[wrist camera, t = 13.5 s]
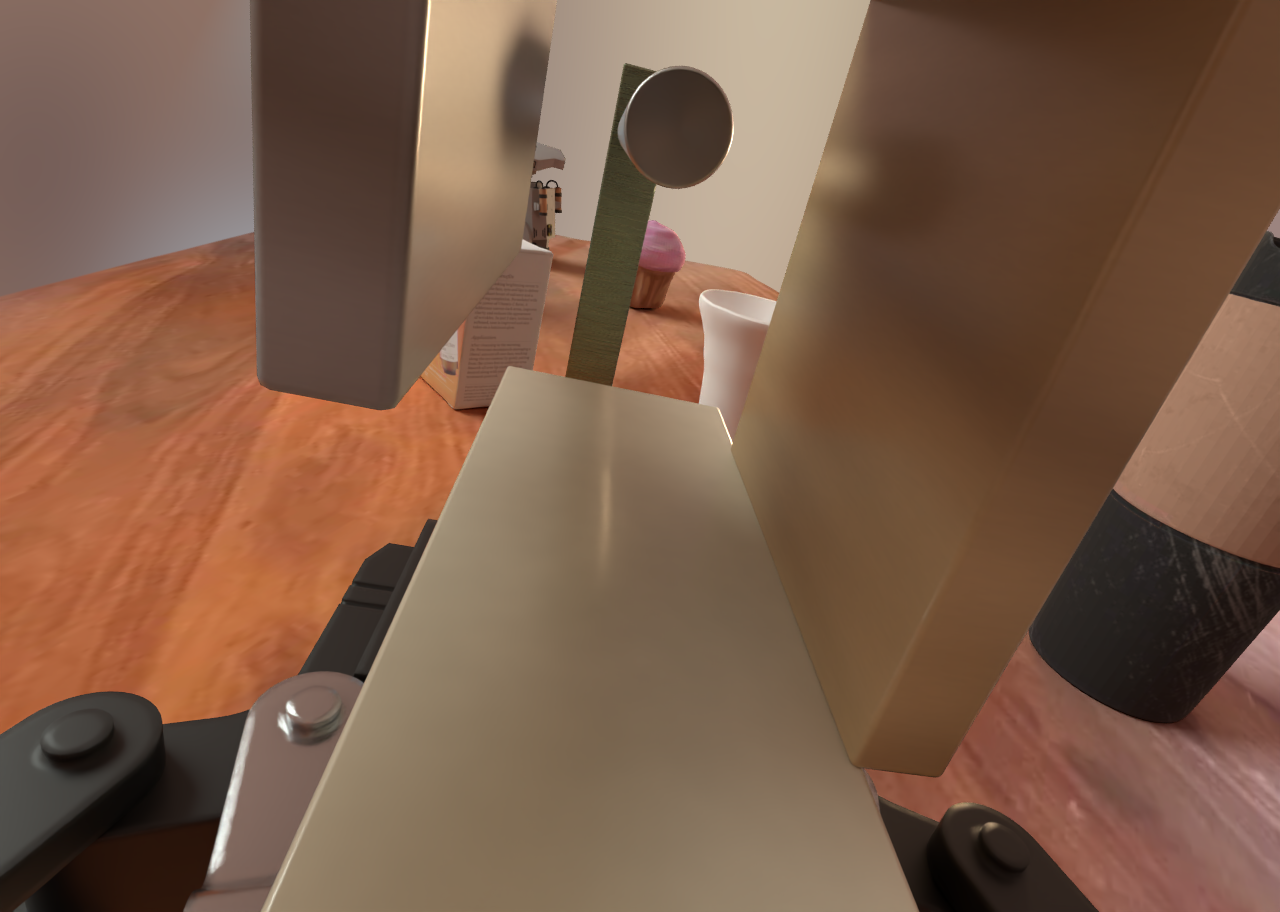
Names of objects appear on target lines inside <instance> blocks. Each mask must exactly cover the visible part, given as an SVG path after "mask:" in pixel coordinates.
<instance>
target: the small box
mask: <svg viewBox="0 0 1280 912" xmlns="http://www.w3.org/2000/svg"><path fill="white" fill-rule="evenodd" d="M552 259H553V253H552V252H551V251H549V250H547V249H544V248H540V247H538V246H536V245H534V244H531V243H529V242H527V241H525V240H523V239H522V246H521V250H520V252H519V253H518V255H517V256H516V257H515V258H514V260H513V261H512V262H511V263H510V265H509V266H508V267H507V268H506V270H505V271H504V272H503V273H502V275H501V276H500V277H499V278H498V280H497V281H496V282H495V283H494V285H493V286H492V287H491V288H490V290H489V291H488V292H487V293H486V295H485V296H484V297H483V298H482V300H481V301H480V302H479V303H478V305H477V306H476V307H475V308H474V310H473V311H472V312H471V313H470V315H469V316H468V317H467V318H466V320H465V321H464V322H463V323H462V324H461V326H460V327H459V328H458V329H457V331H456V332H455V333H454V334H453V336H452V337H451V338H450V339H449V341H448V342H447V343H446V344H445V346H444V347H443V348H442V349H441V351H440V352H439V353H438V354H437V356H436V357H435V358H434V359H433V361H432V362H431V363H430V364H429V366H428V367H427V368H426V369H425V371H424V372H423V373H422V374H421V377H422V378H423V379H424V380H425V381H426V382H427V383H428V384H429V385H430V386H431V387H432V388H433V389H434V390H435V391H437V392H438V393H439V394H440V395H441V396H442V397H443V398H444V399H445V400H446V401H447V402H448V404H449V405H450V406H451V407H452V408H453V409H466V408H476V407H488V406H490V404H491V402H492V400H493V398H494V395H495V393H496V391H497V389H498V387H499V384H500V382H501V380H502V378H503V376H504V373H505V371H506V369H507V367H509V366H512V367H517V368H522V369H527V370H532V371H533V366H534V360H535V354H536V349H537V344H538V338H539V332H540V327H541V321H542V315H543V310H544V304H545V298H546V293H547V287H548V281H549V276H550V270H551V264H552Z"/></svg>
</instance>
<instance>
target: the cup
mask: <svg viewBox="0 0 1280 912" xmlns="http://www.w3.org/2000/svg"><path fill="white" fill-rule="evenodd" d="M776 302H777V301H773V300H770V299H766V298H762V297H758V296H754V295H749V294H745V293H739V292H733V291H726V290H706V291H703V293H702V294H701V295H700V298H699V307H700V312H701V317H702V323H703V329H704V335H705V338H704V375H703V381H702V388H701V394H700V400H699V404H702V405H707V406H712V407H717V408H718V409H719V410H720V413H721V415H722V418H723V420H724V423H725V425H726V428H727V430H728V433H729V435H730V438H731V440H732V443H733V440H734V437H735V434H736V430H737V427H738V424H739V421H740V418H741V414H742V411H743V408H744V405H745V402H746V398H747V395H748V392H749V389H750V386H751V382H752V379H753V376H754V373H755V370H756V366H757V363H758V360H759V357H760V353H761V350H762V347H763V344H764V341H765V337H766V334H767V331H768V328H769V325H770V321H771V318H772V315H773V312H774V309H775V305H776Z"/></svg>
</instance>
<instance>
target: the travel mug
mask: <svg viewBox="0 0 1280 912" xmlns="http://www.w3.org/2000/svg"><path fill="white" fill-rule="evenodd" d="M1279 610H1280V238H1276V237H1274V236H1273V233H1272V232H1269V231H1266V232H1265V234H1264V236H1263V237H1262V239H1261V241H1260V243H1259V244H1258V246H1257V248H1256V249H1255V251H1254V253H1253V254H1252V256H1251V258H1250V259H1249V261H1248V263H1247V264H1246V266H1245V268H1244V269H1243V271H1242V273H1241V274H1240V276H1239V278H1238V279H1237V281H1236V283H1235V284H1234V286H1233V288H1232V289H1231V291H1230V293H1229V294H1228V296H1227V298H1226V299H1225V301H1224V303H1223V305H1222V306H1221V308H1220V310H1219V311H1218V313H1217V315H1216V316H1215V318H1214V320H1213V321H1212V323H1211V325H1210V326H1209V328H1208V330H1207V331H1206V333H1205V335H1204V336H1203V338H1202V340H1201V341H1200V343H1199V345H1198V346H1197V348H1196V350H1195V351H1194V353H1193V355H1192V356H1191V358H1190V360H1189V361H1188V363H1187V365H1186V367H1185V368H1184V370H1183V372H1182V373H1181V375H1180V377H1179V378H1178V380H1177V382H1176V383H1175V385H1174V387H1173V388H1172V390H1171V392H1170V393H1169V395H1168V397H1167V398H1166V400H1165V402H1164V403H1163V405H1162V407H1161V408H1160V410H1159V412H1158V413H1157V415H1156V417H1155V418H1154V420H1153V422H1152V424H1151V425H1150V427H1149V429H1148V430H1147V432H1146V434H1145V435H1144V437H1143V439H1142V440H1141V442H1140V444H1139V445H1138V447H1137V449H1136V450H1135V452H1134V454H1133V455H1132V457H1131V459H1130V460H1129V462H1128V464H1127V465H1126V467H1125V469H1124V470H1123V472H1122V474H1121V475H1120V477H1119V479H1118V480H1117V482H1116V484H1115V486H1114V487H1113V489H1112V491H1111V492H1110V494H1109V496H1108V497H1107V499H1106V501H1105V502H1104V504H1103V506H1102V507H1101V509H1100V511H1099V512H1098V514H1097V516H1096V517H1095V519H1094V521H1093V522H1092V524H1091V526H1090V527H1089V529H1088V531H1087V532H1086V534H1085V536H1084V537H1083V539H1082V541H1081V542H1080V544H1079V546H1078V548H1077V549H1076V551H1075V553H1074V554H1073V556H1072V558H1071V559H1070V561H1069V563H1068V564H1067V566H1066V568H1065V569H1064V571H1063V573H1062V574H1061V576H1060V578H1059V579H1058V581H1057V583H1056V584H1055V586H1054V588H1053V589H1052V591H1051V593H1050V594H1049V596H1048V598H1047V599H1046V601H1045V603H1044V604H1043V606H1042V608H1041V610H1040V611H1039V613H1038V615H1037V616H1036V618H1035V620H1034V621H1033V623H1032V625H1031V626H1030V628H1029V635H1030V639H1031V641H1032V644H1033V645H1034V647H1035V648H1036V650H1037V651H1038V653H1039V654H1040V655H1041V657H1042V658H1043V659H1044V660H1045V661H1046V662H1047V663H1048V664H1049V665H1050V666H1051V667H1052V668H1053V669H1054V670H1055V671H1056V672H1058V673H1059V674H1060V675H1061V676H1062V677H1064V678H1065V679H1066V680H1067V681H1069V682H1070V683H1071V684H1073V685H1074V686H1076V687H1077V688H1079V689H1080V690H1082V691H1083V692H1085V693H1086V694H1088V695H1090V696H1091V697H1093V698H1095V699H1097V700H1098V701H1100V702H1102V703H1104V704H1106V705H1108V706H1110V707H1112V708H1114V709H1116V710H1119V711H1121V712H1123V713H1126V714H1128V715H1131V716H1134V717H1137V718H1140V719H1144V720H1148V721H1153V722H1160V723H1173V722H1176V721H1179V720H1181V719H1183V718H1184V717H1186V716H1187V715H1188V714H1189V713H1190V712H1191V711H1192V710H1193V709H1194V708H1195V706H1196V705H1197V704H1198V703H1199V702H1200V701H1201V700H1202V699H1203V698H1204V696H1205V695H1206V694H1207V693H1208V692H1209V691H1210V690H1211V689H1212V687H1213V686H1214V685H1215V684H1216V683H1217V682H1218V681H1219V679H1220V678H1221V677H1222V676H1223V675H1224V674H1225V672H1226V671H1227V670H1228V669H1229V668H1230V667H1231V666H1232V664H1233V663H1234V662H1235V661H1236V660H1237V659H1238V658H1239V656H1240V655H1241V654H1242V653H1243V652H1244V651H1245V649H1246V648H1247V647H1248V646H1249V645H1250V644H1251V643H1252V641H1253V640H1254V639H1255V638H1256V637H1257V636H1258V634H1259V633H1260V632H1261V631H1262V630H1263V629H1264V628H1265V626H1266V625H1267V624H1268V623H1269V622H1270V621H1271V620H1272V618H1273V617H1274V616H1275V615H1276V614H1277V613H1278V611H1279Z"/></svg>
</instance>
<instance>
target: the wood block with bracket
mask: <svg viewBox="0 0 1280 912" xmlns="http://www.w3.org/2000/svg"><path fill="white" fill-rule="evenodd" d="M556 4H557V0H250V21H251V22H250V23H251V24H250V26H251V77H252V78H251V80H252V131H253V181H254V182H253V185H254V239H255V291H256V344H257V377H258V379H259V382H260V384H261V385H262V386H264V387H266V388H268V389H270V390H274V391H279V392H285V393H290V394H296V395H301V396H306V397H312V398H317V399H322V400H328V401H333V402H338V403H344V404H349V405H354V406H360V407H365V408H370V409H376V410H386V409H392V408H395V407H396V405H397V404H398V403H399V402H400V400H401V399H402V398H403V397H404V395H405V394H406V393H407V392H408V391H409V389H410V388H411V387H412V386H413V384H414V383H415V382H416V381H417V379H418V378H419V377H420V376H421V374H422V373H423V372H424V371H425V369H426V368H427V367H428V366H429V364H430V363H431V362H432V361H433V359H434V358H435V357H436V356H437V354H438V353H439V352H440V351H441V349H442V348H443V347H444V346H445V344H446V343H447V342H448V341H449V339H450V338H451V337H452V336H453V334H454V333H455V332H456V331H457V329H458V328H459V327H460V326H461V324H462V323H463V322H464V321H465V320H466V318H467V317H468V316H469V315H470V313H471V312H472V311H473V310H474V308H475V307H476V306H477V305H478V303H479V302H480V301H481V300H482V298H483V297H484V296H485V295H486V293H487V292H488V291H489V290H490V288H491V287H492V286H493V285H494V283H495V282H496V281H497V280H498V278H499V277H500V276H501V275H502V273H503V272H504V271H505V270H506V268H507V267H508V266H509V265H510V263H511V262H512V261H513V260H514V258H515V257H516V256H517V255H518V253H519V252H520V250H521V246H522V239H523V232H524V226H525V219H526V212H527V205H528V198H529V191H530V184H531V177H532V170H533V163H534V156H535V150H536V143H537V135H538V128H539V122H540V115H541V108H542V101H543V93H544V86H545V81H546V73H547V67H548V60H549V53H550V45H551V38H552V32H553V25H554V18H555V12H556ZM1279 209H1280V0H871V1H870V4H869V8H868V11H867V14H866V17H865V20H864V24H863V28H862V30H861V33H860V36H859V40H858V43H857V46H856V49H855V52H854V56H853V59H852V62H851V65H850V68H849V72H848V75H847V78H846V81H845V84H844V88H843V91H842V94H841V97H840V100H839V104H838V107H837V110H836V113H835V117H834V120H833V123H832V126H831V129H830V133H829V136H828V139H827V142H826V145H825V149H824V152H823V155H822V158H821V161H820V165H819V168H818V171H817V174H816V178H815V181H814V184H813V187H812V190H811V193H810V197H809V200H808V203H807V206H806V210H805V213H804V216H803V219H802V222H801V225H800V229H799V232H798V235H797V239H796V242H795V245H794V248H793V251H792V254H791V257H790V261H789V264H788V267H787V270H786V273H785V277H784V280H783V283H782V286H781V290H780V293H779V296H778V299H777V302H776V305H775V309H774V312H773V315H772V318H771V321H770V325H769V328H768V331H767V334H766V337H765V341H764V344H763V347H762V350H761V353H760V357H759V360H758V363H757V366H756V370H755V373H754V376H753V379H752V382H751V386H750V389H749V392H748V395H747V398H746V402H745V405H744V408H743V411H742V414H741V418H740V421H739V424H738V427H737V430H736V434H735V437H734V440H733V443H732V440H731V438H730V435H729V433H728V430H727V428H726V425H725V423H724V420H723V418H722V415H721V413H720V410H719V409H718V408H717V407H712V406H707V405H702V404H697V403H692V402H687V401H682V400H677V399H672V398H667V397H662V396H657V395H652V394H647V393H642V392H637V391H632V390H627V389H622V388H617V387H612V386H607V385H602V384H597V383H592V382H587V381H582V380H577V379H572V378H567V377H562V376H557V375H552V374H547V373H542V372H537V371H532V370H527V369H522V368H517V367H512V366H509V367H507V369H506V371H505V373H504V376H503V378H502V380H501V382H500V384H499V387H498V389H497V391H496V393H495V395H494V398H493V400H492V402H491V404H490V406H489V409H488V411H487V413H486V415H485V417H484V420H483V422H482V424H481V426H480V428H479V431H478V433H477V435H476V437H475V440H474V442H473V444H472V446H471V448H470V451H469V453H468V455H467V457H466V459H465V462H464V464H463V466H462V468H461V470H460V473H459V475H458V477H457V479H456V481H455V484H454V486H453V488H452V490H451V492H450V495H449V497H448V499H447V501H446V503H445V506H444V508H443V510H442V512H441V515H440V517H439V519H438V521H437V523H436V526H435V528H434V530H433V532H432V534H431V537H430V539H429V541H428V543H427V545H426V548H425V550H424V552H423V554H422V556H421V559H420V561H419V563H418V565H417V567H416V570H415V572H414V574H413V576H412V578H411V581H410V583H409V585H408V587H407V590H406V592H405V594H404V596H403V598H402V601H401V603H400V605H399V607H398V609H397V612H396V614H395V616H394V618H393V620H392V623H391V625H390V627H389V629H388V631H387V634H386V636H385V638H384V640H383V642H382V645H381V647H380V649H379V651H378V653H377V656H376V658H375V660H374V662H373V664H372V667H371V669H370V671H369V673H368V676H367V678H366V680H365V682H364V684H363V687H362V689H361V691H360V693H359V695H358V698H357V700H356V702H355V704H354V706H353V709H352V711H351V713H350V715H349V717H348V720H347V722H346V724H345V726H344V728H343V731H342V733H341V735H340V737H339V739H338V742H337V744H336V746H335V748H334V751H333V753H332V755H331V757H330V759H329V762H328V764H327V766H326V768H325V770H324V773H323V775H322V777H321V779H320V781H319V784H318V786H317V788H316V790H315V792H314V795H313V797H312V799H311V801H310V803H309V806H308V808H307V810H306V812H305V814H304V817H303V819H302V821H301V823H300V826H299V828H298V830H297V832H296V834H295V837H294V839H293V841H292V843H291V845H290V848H289V850H288V852H287V854H286V856H285V859H284V861H283V863H282V865H281V867H280V870H279V872H278V874H277V876H276V878H275V881H274V883H273V885H272V887H271V889H270V892H269V894H268V896H267V898H266V900H265V903H264V905H263V907H262V909H261V912H919V910H918V907H917V905H916V902H915V900H914V897H913V895H912V892H911V890H910V887H909V885H908V882H907V880H906V877H905V875H904V872H903V870H902V867H901V865H900V862H899V860H898V857H897V855H896V852H895V850H894V847H893V845H892V842H891V840H890V837H889V834H888V832H887V829H886V827H885V824H884V822H883V819H882V817H881V814H880V812H879V809H878V807H877V804H876V802H875V799H874V797H873V794H872V792H871V789H870V787H869V784H868V782H867V779H866V777H865V774H864V772H863V769H862V768H867V769H874V770H882V771H889V772H897V773H905V774H912V775H920V776H928V777H939V776H941V775H942V774H943V772H944V770H945V769H946V767H947V765H948V764H949V762H950V760H951V759H952V757H953V755H954V754H955V752H956V750H957V749H958V747H959V745H960V744H961V742H962V740H963V739H964V737H965V735H966V734H967V732H968V730H969V729H970V727H971V725H972V723H973V722H974V720H975V718H976V717H977V715H978V713H979V712H980V710H981V708H982V707H983V705H984V703H985V702H986V700H987V698H988V697H989V695H990V693H991V692H992V690H993V688H994V687H995V685H996V683H997V682H998V680H999V678H1000V677H1001V675H1002V673H1003V672H1004V670H1005V668H1006V667H1007V665H1008V663H1009V661H1010V660H1011V658H1012V656H1013V655H1014V653H1015V651H1016V650H1017V648H1018V646H1019V645H1020V643H1021V641H1022V640H1023V638H1024V636H1025V635H1026V633H1027V631H1028V630H1029V628H1030V626H1031V625H1032V623H1033V621H1034V620H1035V618H1036V616H1037V615H1038V613H1039V611H1040V610H1041V608H1042V606H1043V604H1044V603H1045V601H1046V599H1047V598H1048V596H1049V594H1050V593H1051V591H1052V589H1053V588H1054V586H1055V584H1056V583H1057V581H1058V579H1059V578H1060V576H1061V574H1062V573H1063V571H1064V569H1065V568H1066V566H1067V564H1068V563H1069V561H1070V559H1071V558H1072V556H1073V554H1074V553H1075V551H1076V549H1077V548H1078V546H1079V544H1080V542H1081V541H1082V539H1083V537H1084V536H1085V534H1086V532H1087V531H1088V529H1089V527H1090V526H1091V524H1092V522H1093V521H1094V519H1095V517H1096V516H1097V514H1098V512H1099V511H1100V509H1101V507H1102V506H1103V504H1104V502H1105V501H1106V499H1107V497H1108V496H1109V494H1110V492H1111V491H1112V489H1113V487H1114V486H1115V484H1116V482H1117V480H1118V479H1119V477H1120V475H1121V474H1122V472H1123V470H1124V469H1125V467H1126V465H1127V464H1128V462H1129V460H1130V459H1131V457H1132V455H1133V454H1134V452H1135V450H1136V449H1137V447H1138V445H1139V444H1140V442H1141V440H1142V439H1143V437H1144V435H1145V434H1146V432H1147V430H1148V429H1149V427H1150V425H1151V424H1152V422H1153V420H1154V418H1155V417H1156V415H1157V413H1158V412H1159V410H1160V408H1161V407H1162V405H1163V403H1164V402H1165V400H1166V398H1167V397H1168V395H1169V393H1170V392H1171V390H1172V388H1173V387H1174V385H1175V383H1176V382H1177V380H1178V378H1179V377H1180V375H1181V373H1182V372H1183V370H1184V368H1185V367H1186V365H1187V363H1188V361H1189V360H1190V358H1191V356H1192V355H1193V353H1194V351H1195V350H1196V348H1197V346H1198V345H1199V343H1200V341H1201V340H1202V338H1203V336H1204V335H1205V333H1206V331H1207V330H1208V328H1209V326H1210V325H1211V323H1212V321H1213V320H1214V318H1215V316H1216V315H1217V313H1218V311H1219V310H1220V308H1221V306H1222V305H1223V303H1224V301H1225V299H1226V298H1227V296H1228V294H1229V293H1230V291H1231V289H1232V288H1233V286H1234V284H1235V283H1236V281H1237V279H1238V278H1239V276H1240V274H1241V273H1242V271H1243V269H1244V268H1245V266H1246V264H1247V263H1248V261H1249V259H1250V258H1251V256H1252V254H1253V253H1254V251H1255V249H1256V248H1257V246H1258V244H1259V243H1260V241H1261V239H1262V237H1263V236H1264V234H1265V232H1266V231H1267V229H1268V227H1269V226H1270V224H1271V222H1272V221H1273V219H1274V217H1275V216H1276V214H1277V212H1278V210H1279Z"/></svg>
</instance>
